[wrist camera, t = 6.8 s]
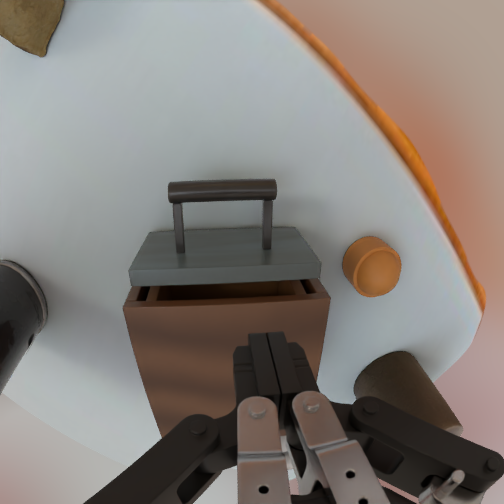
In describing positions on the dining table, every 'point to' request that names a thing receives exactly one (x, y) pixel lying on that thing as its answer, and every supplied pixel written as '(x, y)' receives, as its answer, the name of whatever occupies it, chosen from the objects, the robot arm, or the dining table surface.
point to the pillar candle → (407, 390)
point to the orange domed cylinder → (372, 266)
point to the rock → (29, 23)
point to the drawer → (223, 250)
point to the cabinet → (213, 345)
